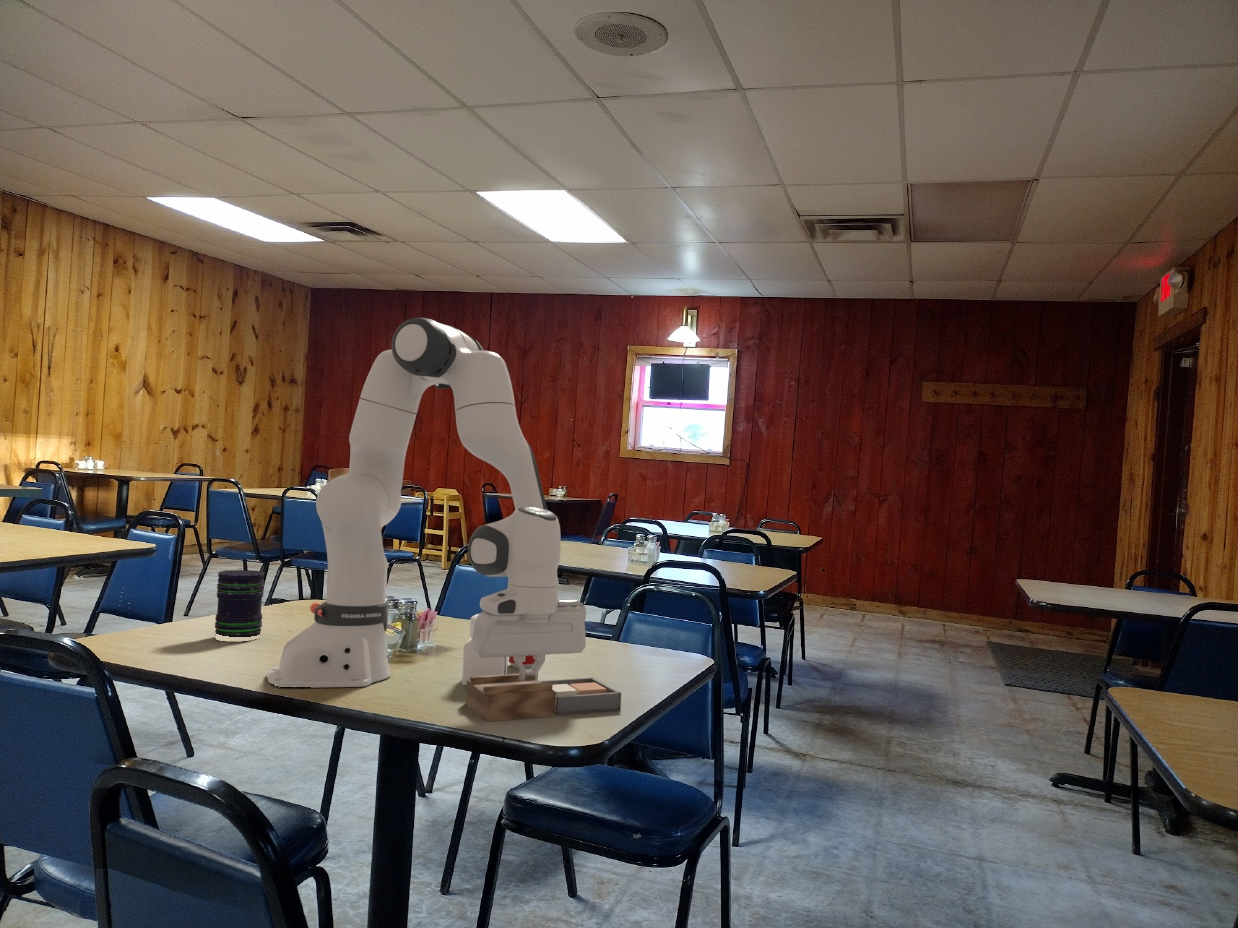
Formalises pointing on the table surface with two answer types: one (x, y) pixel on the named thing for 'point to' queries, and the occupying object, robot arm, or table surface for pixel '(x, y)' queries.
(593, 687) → the tile
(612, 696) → the tray
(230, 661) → the table surface
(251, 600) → the storage jar
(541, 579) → the robot arm
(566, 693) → the tile
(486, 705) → the wooden box
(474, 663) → the container
